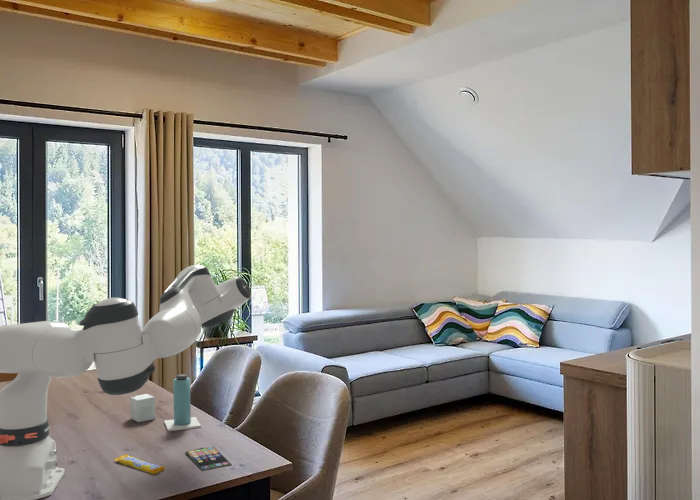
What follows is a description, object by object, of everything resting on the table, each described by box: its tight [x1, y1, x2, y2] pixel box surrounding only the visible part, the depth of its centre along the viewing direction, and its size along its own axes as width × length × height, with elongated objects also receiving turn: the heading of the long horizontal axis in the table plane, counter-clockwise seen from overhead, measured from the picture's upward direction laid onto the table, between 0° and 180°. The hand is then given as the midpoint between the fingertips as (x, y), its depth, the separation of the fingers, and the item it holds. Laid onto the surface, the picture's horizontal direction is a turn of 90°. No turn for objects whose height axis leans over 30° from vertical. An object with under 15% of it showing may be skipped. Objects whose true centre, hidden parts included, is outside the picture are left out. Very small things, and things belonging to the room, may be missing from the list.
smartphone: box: [185, 445, 232, 472], centre depth 174 cm, size 8×15×1 cm, turn 30°
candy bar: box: [113, 453, 166, 475], centre depth 169 cm, size 17×4×2 cm, turn 55°
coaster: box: [163, 416, 202, 432], centre depth 204 cm, size 10×10×1 cm
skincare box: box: [129, 393, 156, 423], centre depth 211 cm, size 6×6×7 cm
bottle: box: [172, 374, 192, 425], centre depth 204 cm, size 5×5×15 cm
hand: (177, 325), depth 199 cm, fingers open, 8 cm apart
